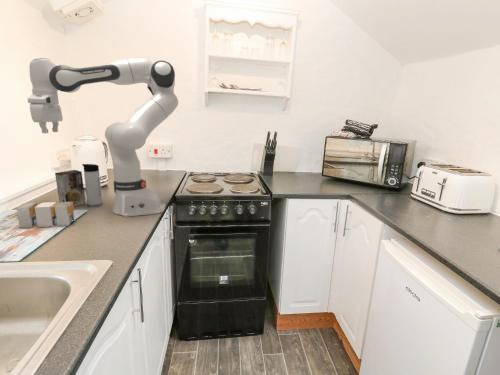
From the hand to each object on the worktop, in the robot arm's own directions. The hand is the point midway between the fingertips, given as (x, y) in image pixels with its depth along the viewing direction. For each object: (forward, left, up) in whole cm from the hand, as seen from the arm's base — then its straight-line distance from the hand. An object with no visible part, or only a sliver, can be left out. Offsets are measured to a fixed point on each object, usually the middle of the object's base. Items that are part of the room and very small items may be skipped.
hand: (50, 132), depth 128 cm
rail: (-4, +22, -34) cm, 41 cm away
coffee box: (-4, -3, -34) cm, 35 cm away
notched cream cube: (-4, +22, -34) cm, 41 cm away
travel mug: (-14, -2, -34) cm, 37 cm away
